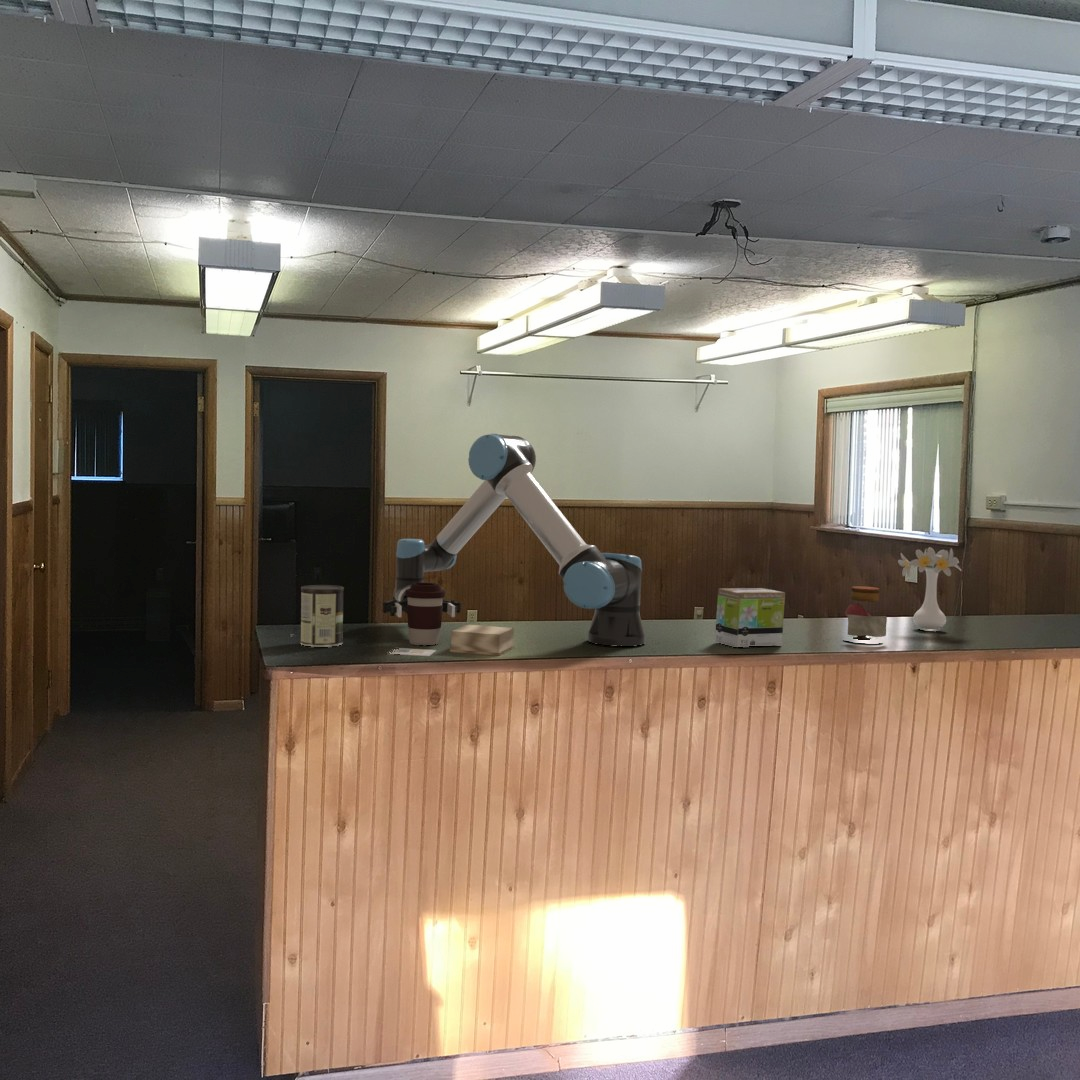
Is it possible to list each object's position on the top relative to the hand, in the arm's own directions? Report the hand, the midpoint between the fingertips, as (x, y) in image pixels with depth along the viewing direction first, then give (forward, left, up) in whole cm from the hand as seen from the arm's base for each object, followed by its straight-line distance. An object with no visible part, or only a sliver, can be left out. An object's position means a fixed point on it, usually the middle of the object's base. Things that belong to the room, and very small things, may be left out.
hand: (426, 611), depth 265 cm
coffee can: (+24, +9, -9) cm, 27 cm away
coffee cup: (+2, -3, -9) cm, 9 cm away
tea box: (-75, -40, -9) cm, 86 cm away
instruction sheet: (0, +10, -9) cm, 13 cm away
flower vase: (-124, -93, -9) cm, 155 cm away
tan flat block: (-14, -1, -9) cm, 17 cm away
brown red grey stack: (-104, -60, -9) cm, 121 cm away
